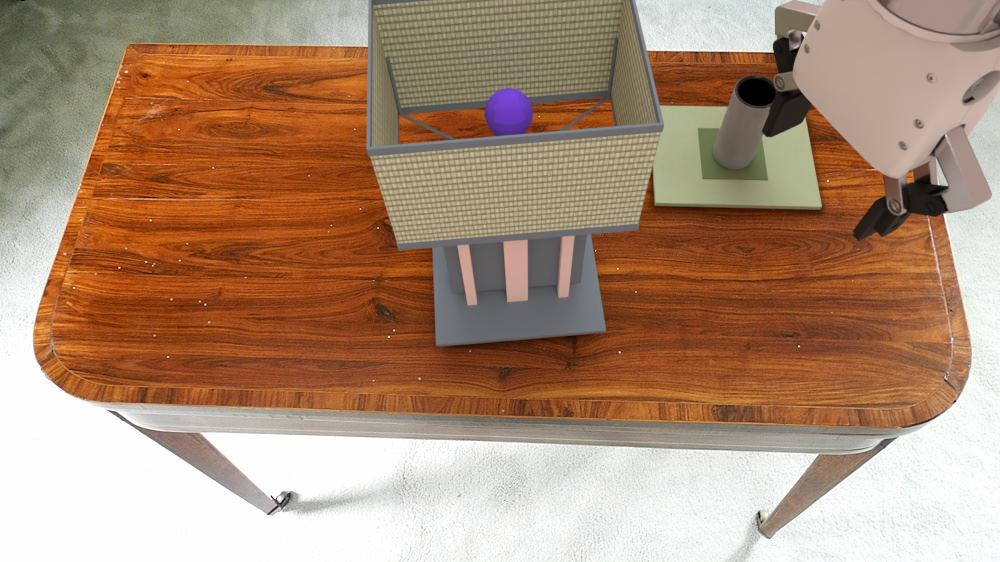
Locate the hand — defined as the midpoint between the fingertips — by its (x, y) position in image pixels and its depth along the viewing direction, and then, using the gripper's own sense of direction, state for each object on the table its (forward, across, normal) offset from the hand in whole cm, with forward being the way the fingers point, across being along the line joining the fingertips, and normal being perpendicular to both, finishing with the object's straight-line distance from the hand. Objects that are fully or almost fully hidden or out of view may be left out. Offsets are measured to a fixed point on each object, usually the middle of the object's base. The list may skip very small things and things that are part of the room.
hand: (825, 176), depth 50 cm
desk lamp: (+26, +15, +17) cm, 35 cm away
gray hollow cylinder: (+26, +18, -13) cm, 34 cm away
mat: (+26, +18, -13) cm, 34 cm away
